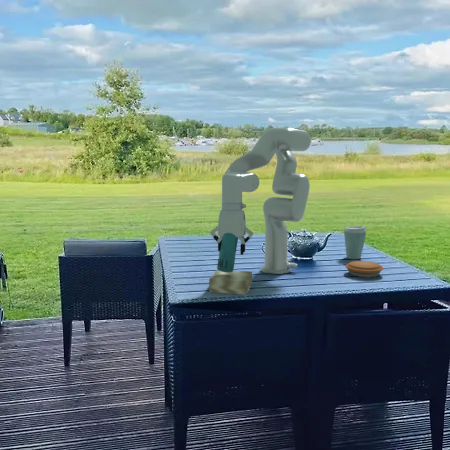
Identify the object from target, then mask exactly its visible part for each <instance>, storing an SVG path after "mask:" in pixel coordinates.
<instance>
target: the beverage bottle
mask: <svg viewBox="0 0 450 450" xmlns="http://www.w3.org/2000/svg"><path fill="white" fill-rule="evenodd" d="M238 240H239V238H237V237H236V236H235V235H234V234H232V233H225V234H224V235H223V237H222V240H221V247H220V248H221V249H220V254H219V253H218V259H217V266H216V267H217V269H216V270H219V271H222V272H228V273H231V272H233V271H234V268H235V261H236V254H237V248H238V242H239V241H238Z"/></svg>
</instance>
